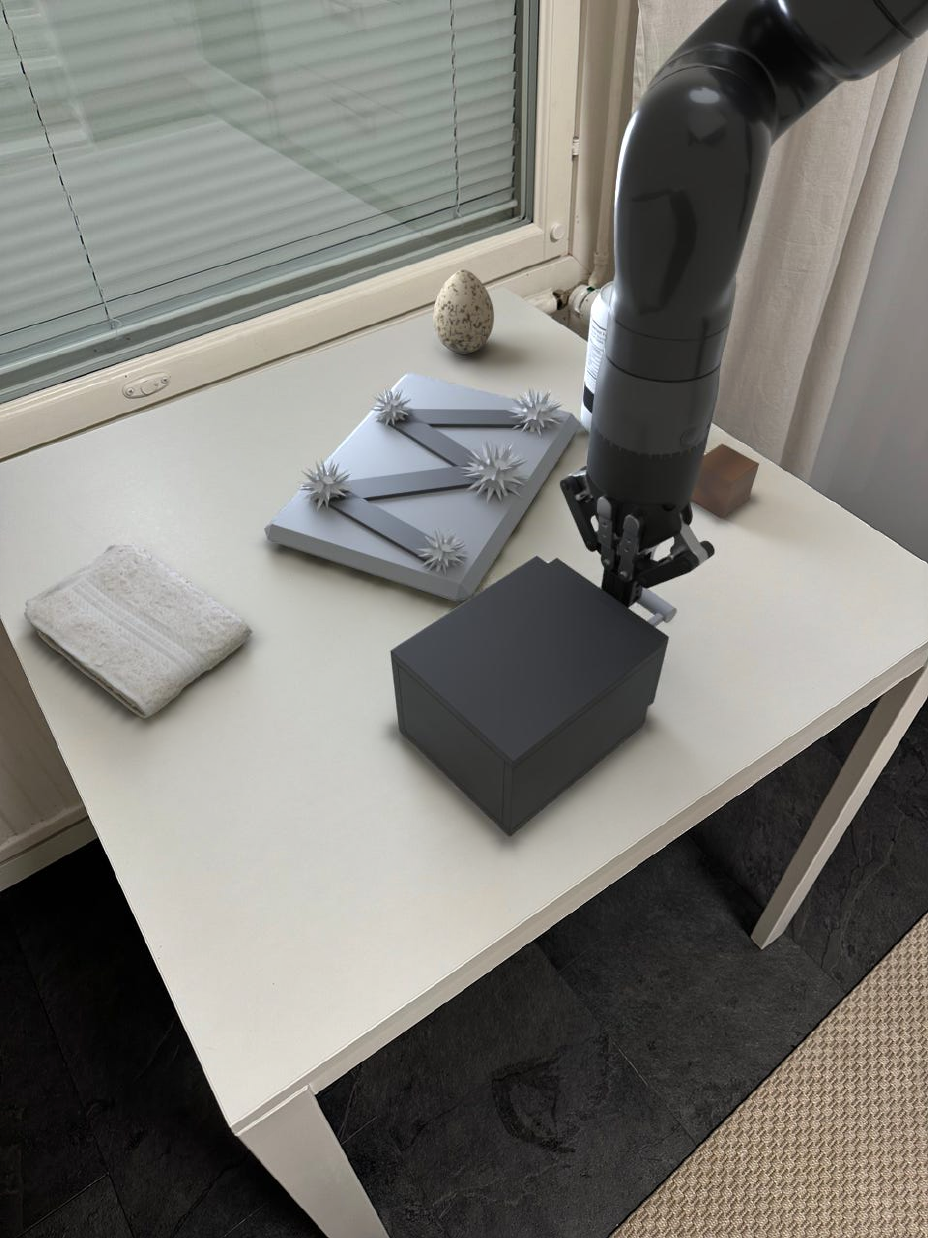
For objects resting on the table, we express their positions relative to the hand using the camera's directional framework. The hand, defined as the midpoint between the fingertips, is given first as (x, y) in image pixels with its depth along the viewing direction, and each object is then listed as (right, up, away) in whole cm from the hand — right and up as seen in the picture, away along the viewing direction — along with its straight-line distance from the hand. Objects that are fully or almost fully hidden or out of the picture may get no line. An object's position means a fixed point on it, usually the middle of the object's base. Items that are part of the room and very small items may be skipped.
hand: (619, 601), depth 70 cm
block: (+13, +11, +19) cm, 26 cm away
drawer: (-4, -7, +2) cm, 8 cm away
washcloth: (-40, -3, +8) cm, 41 cm away
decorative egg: (-12, +31, +39) cm, 51 cm away
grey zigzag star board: (-15, +12, +21) cm, 29 cm away
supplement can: (+5, +20, +28) cm, 34 cm away
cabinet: (-8, -10, 0) cm, 12 cm away
